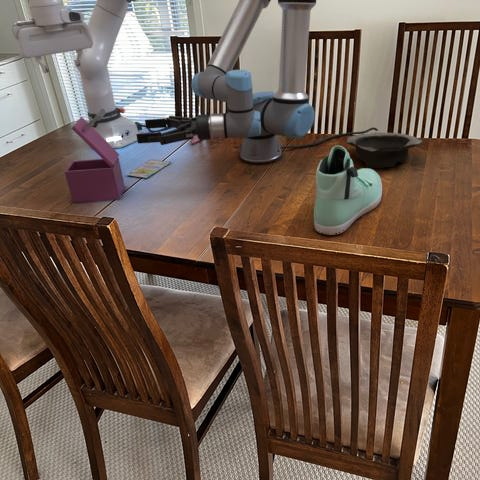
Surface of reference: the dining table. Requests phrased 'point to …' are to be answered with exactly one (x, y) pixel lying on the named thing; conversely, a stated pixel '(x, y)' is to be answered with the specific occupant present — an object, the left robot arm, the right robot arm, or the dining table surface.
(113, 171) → the chest
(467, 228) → the dining table surface
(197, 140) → the pink flat elongated piece
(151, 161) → the baking ingredient package
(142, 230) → the dining table surface
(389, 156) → the stone bowl
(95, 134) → the lid
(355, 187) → the sneaker
